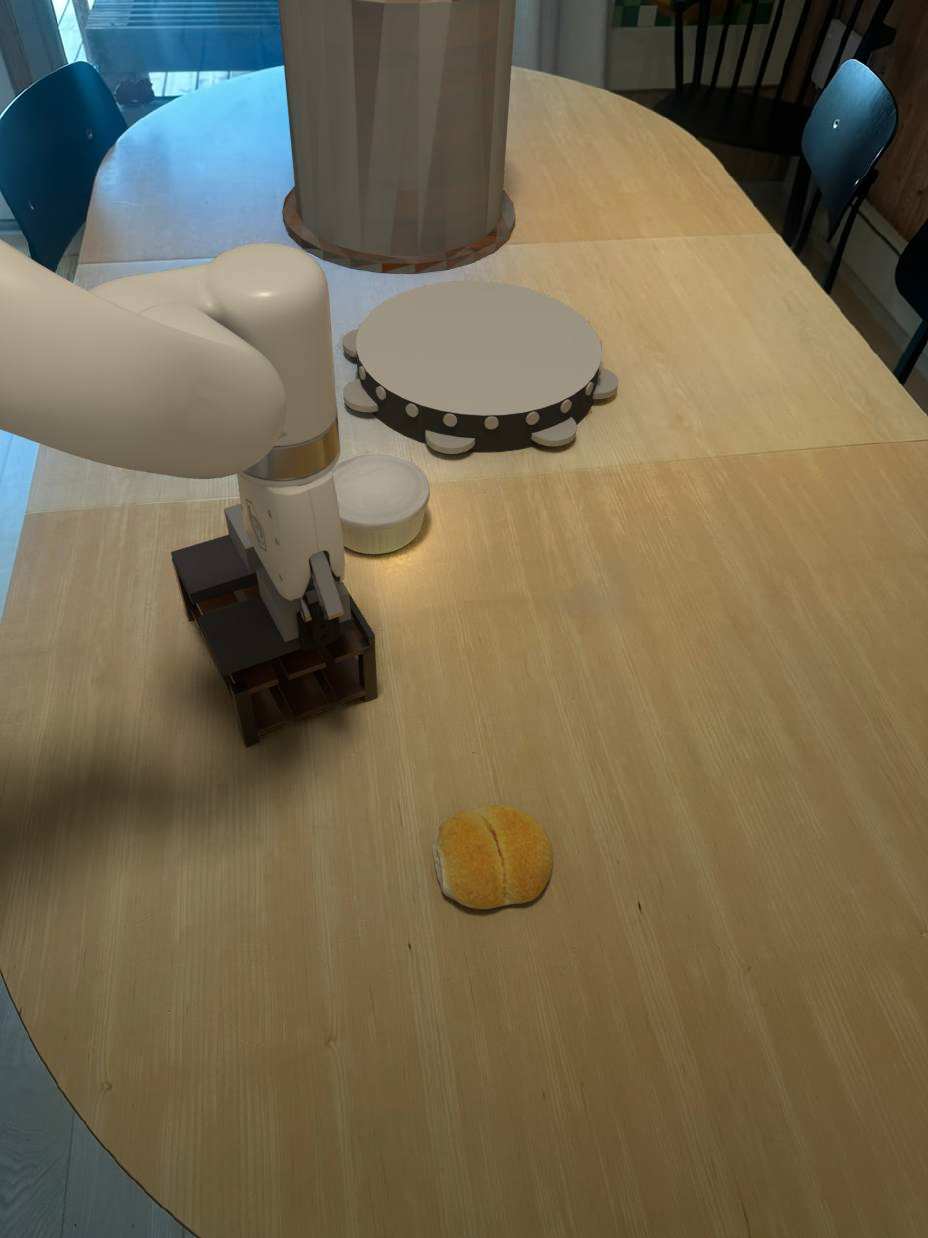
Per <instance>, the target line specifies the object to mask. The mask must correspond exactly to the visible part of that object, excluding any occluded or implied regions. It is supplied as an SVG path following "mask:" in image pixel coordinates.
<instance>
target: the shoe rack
mask: <svg viewBox="0 0 928 1238" xmlns="http://www.w3.org/2000/svg"><path fill="white" fill-rule="evenodd" d="M171 563H172V566H173V570H174V575H175V578H176V582H177V585H178V589H179V594H180V598H181V601H182V606H183V610H184V613H185V615H186V618H187V620H188V621H189V622H191V621H194V622H195V624H196V626H197V629H198V630H199V632H200V634H201V637H202V639H203V641H204V642H205V645H206V647H207V650H208V652H209V654H210V656H211V659H212V661H213V663H214V665H215V667H216V669H217V672H218V674H219V676H220V679H221V681H222V683H223V685H224V687H225V689H226V691H227V694H228V696H229V698H230V700H231V703H232V705H233V707H234V711H235V716H236V719H237V725H238V728H239V733H240V738H241V740H242V742H243V745H244V746H245V748H249V747H252V746H254V745H257V744H259V743H260V737H259V736H262V735H263V734H266V733H269V732H271V731H274V730H276V729H279V728H281V727H284V726H286V724H287V723H286V720H285V718H284V716H283V714H282V711H281V710H280V708H279V705H278V704H277V702H276V700H275V698H274V695H273V694H272V691H271V690H270V688H272V687H274V686H276V687H277V689H278V691H279V693H280V695H281V697H282V699H283V702H284V703H285V705H286V707H287V709H288V711H289V713H290V715H291V717H292V719H293V721H294V722H298V721H300V720H303V719H306V718H308V717H311V716H314V715H316V714H319V713H321V712H324V711H326V710H329V709H331V704H330V702H329V700H328V697H327V696H326V695H325V693H324V691H323V689H322V687H321V685H320V683H319V682H318V679H317V678H316V676H315V674H314V673H313V672H316V671H318V670H319V671H320V673H321V674H322V677H323V678H324V680H325V681H326V684H327V685H328V687H329V689H330V691H331V693H332V695H333V696H334V698H335V700H336V702H337V704H338V705H339V706H340V705H342V704H346V703H348V702H350V701H353V700H356V699H359V698H361V697H362V699H363V700H364V702H365V703H367V702H369V701H373V700H375V699H377V698H378V695H379V694H378V678H377V677H378V676H377V675H378V674H377V656H376V655H377V654H376V652H377V651H376V635H375V632H374V631H373V629H372V628H371V626H370V625H369V622H368V621H367V619H366V617H365V616H364V615H363V613H362V611H361V609H360V608H359V606H358V605H357V603H356V602H355V600H354V598H353V596H352V595H351V593H350V592H349V590H348V589H347V587H346V585H345V584H344V586H345V587H346V589H347V591H348V592H349V599H350V612H351V615H352V617H353V621H354V630H352V631H350V632H347V633H344V634H341V635H340V638H339V639H338V640H337V641H334V642H331V643H329V644H326V645H324V646H320V647H317V648H314V649H311V650H309V651H303V649H302V648H301V649H299V650H296V651H293V652H290V653H287V654H284V655H282V656H279V657H276V658H273V659H270V660H268V661H265V662H262V663H259V664H256V665H253V666H251V667H248V668H245V669H242V670H239V671H236V672H234V673H231V674H228V675H225V676H222V674H221V671H220V669H219V667H218V665H217V663H216V660H215V658H214V656H213V654H212V652H211V650H210V647H209V645H208V643H207V641H206V639H205V636H204V634H203V632H202V630H201V627H200V623H199V619H198V617H199V616H202V615H205V614H208V613H211V612H214V611H217V610H220V609H223V608H226V607H229V606H232V605H235V604H238V603H241V602H244V601H247V600H250V599H253V598H256V597H259V596H260V590H259V585H258V584H256V585H253V586H250V587H247V588H244V589H240V590H237V591H234V592H231V593H228V594H225V595H222V596H219V597H216V598H213V599H210V600H206V601H203V602H200V603H197V604H194V605H193V604H192V602H191V600H190V598H189V596H188V593H187V591H186V589H185V587H184V585H183V583H182V580H181V578H180V576H179V574H178V572H177V570H176V567H175V565H174V563H173V559H172V558H171ZM356 657H357V658H356Z"/></svg>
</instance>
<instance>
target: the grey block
mask: <svg viewBox="0 0 928 1238" xmlns="http://www.w3.org/2000/svg"><path fill="white" fill-rule="evenodd" d="M223 511H224V516H225V517H224V518H225V522H226V527H227V533H228V534H225V535H222V536H219V537H216V538H215V537H214V538H212V539H209V540H205V541H203V542H199V543H196V544H193V545H189V546H186V547H183V548H179V549H176V550H172V551H171V552H170V555H171V560H172V559H173V563H174V565H175V567H176V570H177V572H178V574H179V576H180V578H181V580H182V583H183V585H184V587H185V589H186V591H187V593H188V596H189V598H190V600H191V602H192V604H193V605H194V604H197V603H200V602H203V601H206V600H210V599H213V598H216V597H219V596H222V595H225V594H228V593H231V592H234V591H237V590H240V589H244V588H247V587H250V586H253V585H256V584H258V579H257V573H256V570H257V569H260V568H263V567H264V565H263V564H262V562H261V560H260V558H259V556H258V554H257V553H256V551H255V549H254V547H253V545H252V543H251V541H250V539H249V537H248V535H247V533H246V530H245V527H244V524H243V518H242V511H241V503H239V504H234V505H232V506H228V507H224V508H223ZM173 563H172V564H173Z"/></svg>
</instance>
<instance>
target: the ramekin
mask: <svg viewBox="0 0 928 1238" xmlns="http://www.w3.org/2000/svg"><path fill="white" fill-rule="evenodd" d="M332 473H333V478H334V484H335V489H336V493H337V501H338V507H339V513H340V520H341V527H342V535H343V544H344V548H347V549H349V550H351V551H354V552H356V553H361V554H366V555H381V554H388V553H389V554H390V553H392V552H396V551H397V550H400V549H403V548H404V547H405V546H407V545H409V544H410V543H411V542H412V541H413V540H414V539H415V538H416V537H417V536H418V534H419V533H420V531H421V529H422V527H423V523H424V517H425V512H426V507H427V506H428V503H429V501H430V495H431V489H430V483H429V479H428V477H427V475H426V473H425V472H424V471H423V470H422V469H421V468H420V467H419V465H417V464H416V463H415V462H413V461H411V460H409V459H407V458H405V457H402V456H400V455H396V454H392V453H386V452H364V453H358V454H353V455H350V456H347V457H344V458H342V459H339V460H338V461H337V463H336V465H335V466H334V467H333V468H332Z"/></svg>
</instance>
